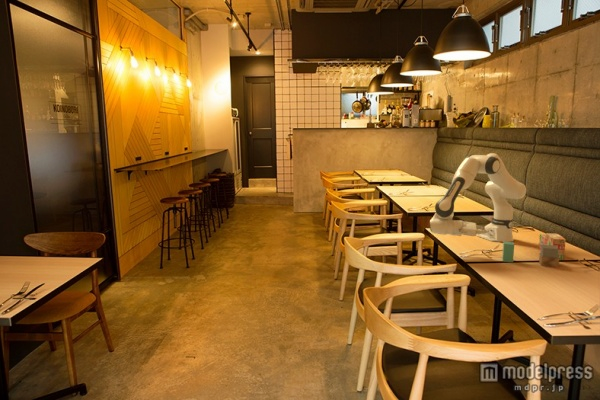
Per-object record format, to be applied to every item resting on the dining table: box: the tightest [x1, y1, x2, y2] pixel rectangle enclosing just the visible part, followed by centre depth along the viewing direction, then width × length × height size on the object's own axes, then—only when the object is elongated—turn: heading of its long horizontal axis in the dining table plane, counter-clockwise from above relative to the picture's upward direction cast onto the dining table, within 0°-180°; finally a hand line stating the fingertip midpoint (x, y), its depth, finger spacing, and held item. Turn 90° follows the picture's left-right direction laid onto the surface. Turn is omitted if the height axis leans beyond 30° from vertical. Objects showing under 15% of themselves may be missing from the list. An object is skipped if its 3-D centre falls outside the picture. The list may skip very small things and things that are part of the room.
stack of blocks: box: [538, 232, 566, 261], centre depth 243 cm, size 21×6×12 cm, turn 168°
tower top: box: [540, 245, 559, 258], centre depth 224 cm, size 7×7×5 cm
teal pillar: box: [501, 241, 515, 263], centre depth 232 cm, size 5×5×10 cm
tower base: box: [538, 252, 560, 268], centre depth 225 cm, size 8×8×5 cm
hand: (485, 230), depth 234 cm, fingers open, 8 cm apart
